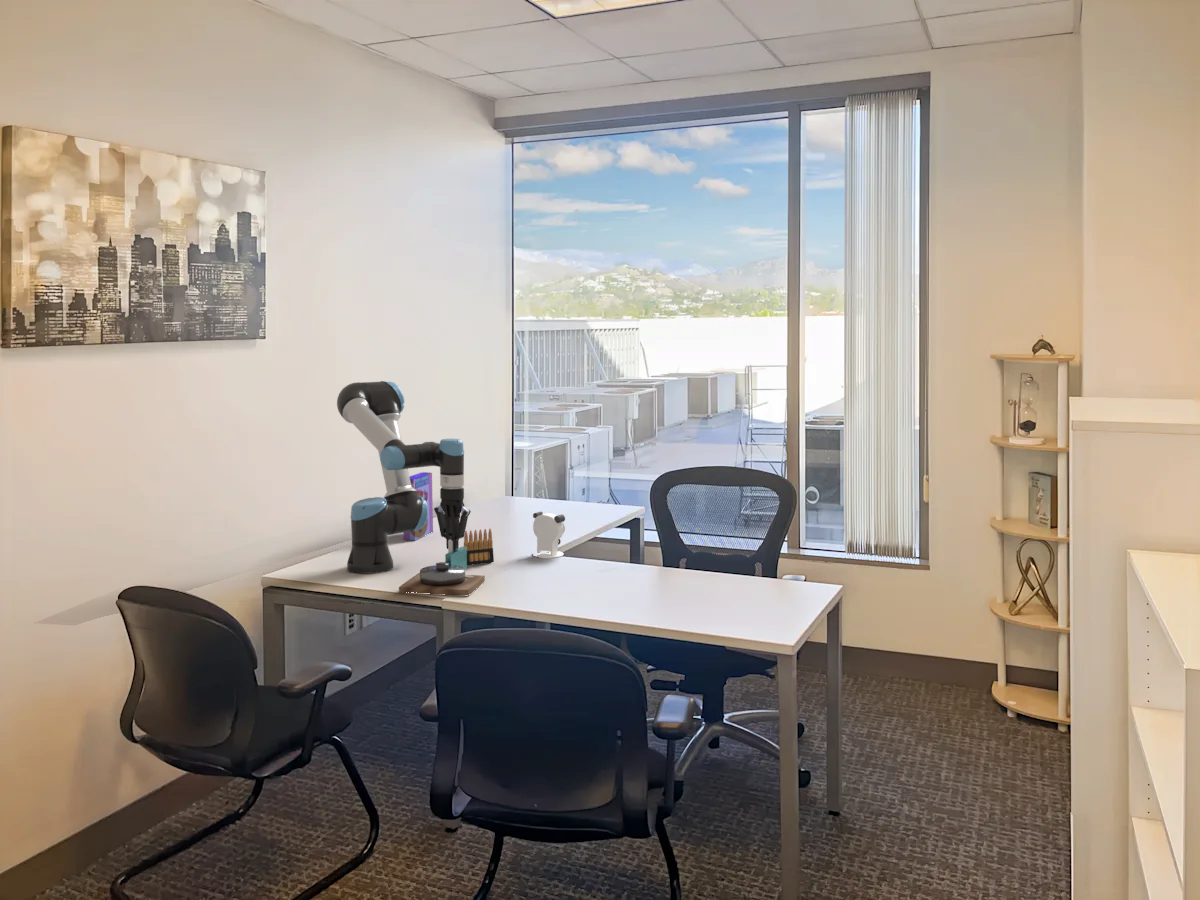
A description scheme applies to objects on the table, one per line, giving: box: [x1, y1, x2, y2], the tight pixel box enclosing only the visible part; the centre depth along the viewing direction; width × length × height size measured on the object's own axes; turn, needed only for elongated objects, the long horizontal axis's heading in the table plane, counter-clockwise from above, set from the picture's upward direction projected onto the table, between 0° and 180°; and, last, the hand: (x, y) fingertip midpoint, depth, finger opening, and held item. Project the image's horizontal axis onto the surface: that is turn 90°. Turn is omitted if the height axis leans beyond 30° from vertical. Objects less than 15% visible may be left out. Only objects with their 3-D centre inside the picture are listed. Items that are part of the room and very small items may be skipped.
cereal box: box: [402, 471, 434, 542], centre depth 390 cm, size 17×5×24 cm, turn 167°
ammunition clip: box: [463, 528, 495, 566], centre depth 345 cm, size 11×2×12 cm, turn 118°
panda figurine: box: [532, 511, 566, 559], centre depth 358 cm, size 12×11×15 cm
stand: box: [398, 572, 486, 596], centre depth 314 cm, size 22×18×2 cm
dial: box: [419, 546, 468, 585], centre depth 318 cm, size 23×14×7 cm, turn 163°
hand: (452, 559), depth 324 cm, fingers closed
